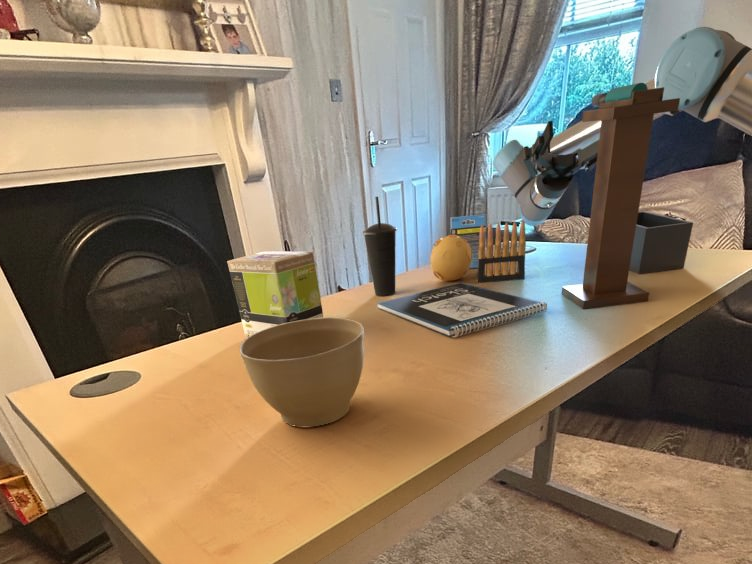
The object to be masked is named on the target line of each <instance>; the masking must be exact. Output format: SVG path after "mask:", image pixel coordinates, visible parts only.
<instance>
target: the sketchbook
mask: <svg viewBox="0 0 752 564" xmlns="http://www.w3.org/2000/svg"><path fill="white" fill-rule="evenodd" d="M376 305H377V309H380V310H382V311H384V312H387V313H389V314H391V315H395V316H397V317H399V318H402V319H405V320H407V321H410V322H412V323H414V324H417V325H420V326H421V327H422V326H423V327H425V328H427V329H430V330H433V331H435V332H437V333H440V334H443V335H444V336H448V337H452V338H454V339H455V338H458V337H462V336H465V335H469V334H473V333H474V332H475V333H477V332H479V331H482V330H486V329H490V328H494V327H498V326H502V325H505V324H508V323H513V322H516V321H520V320H523V319H526V318H527V319H528V318H530V317H534V316H536V315H537V316H538V315H541V314H544V313H546V312H547V310H548V303H546V302H543V301H538V300H533V299H529V298H526V297H521V296H517V295H513V294H509V293H505V292H501V291H497V290H492V289H488V288H484V287H480V286H475V285H472V284H468V283H463V282H457V283H454V284H449V285H446V286H442V287H436V288H432V289H429V290H425V291H421V292H416V293H411V294H408V295H404V296H399V297H396V298H391V299H388V300H384V301H379V302H377V304H376Z"/></svg>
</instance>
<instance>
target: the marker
mask: <svg viewBox="0 0 752 564" xmlns="http://www.w3.org/2000/svg"><path fill="white" fill-rule="evenodd" d="M645 83H646V82H645ZM645 83H644V82H637V83H632V84H628V85H623V86H619V87H618V86H617V87H614V88H611V89H609V91H608V92H603V93H598V94H595V95H593V96H592V98H591V101H590V103H591V105H592V107H594V108H599V104H600V103H605V102H612V101H618V100H625V99H631V97H632V92H634V91H641V90H648V88H647V85H646V84H645Z"/></svg>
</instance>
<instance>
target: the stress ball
mask: <svg viewBox="0 0 752 564" xmlns="http://www.w3.org/2000/svg"><path fill="white" fill-rule="evenodd" d="M429 261H430V266H431V269H432V272H433V273H432V274H433V275H434V276H435V277H436V278H437V279H438V280H439V281H447V282H454V281H456V280H459V279H461V278H462V277H463V276H465V275H466V273H468V271H469V267H470V265H471V261H472V250H471V248H470V246H469V244H468V242H467V241H466V240H465V239H463V238H461V237H459V236H457V235H451V234H448V235H446V236H444V237H442V238H438V239H437V240H436V242H435V243H434V244H433V247H432V250H431V253H430V260H429Z"/></svg>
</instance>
